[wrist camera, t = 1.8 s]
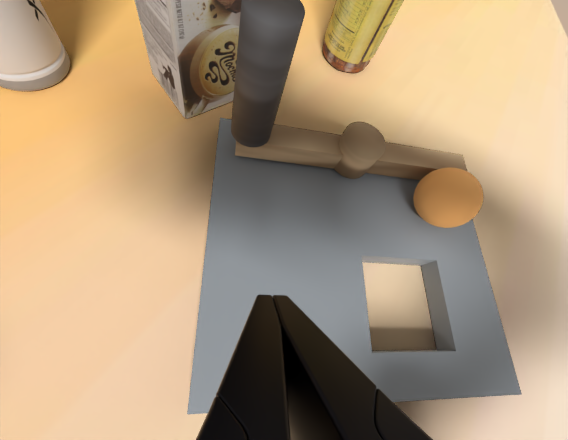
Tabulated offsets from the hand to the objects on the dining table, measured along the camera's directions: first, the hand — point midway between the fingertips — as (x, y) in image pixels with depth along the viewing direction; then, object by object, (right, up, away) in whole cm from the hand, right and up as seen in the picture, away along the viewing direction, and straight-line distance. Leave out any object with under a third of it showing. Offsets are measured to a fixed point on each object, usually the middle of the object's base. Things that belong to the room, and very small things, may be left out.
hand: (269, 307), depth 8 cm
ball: (+14, +4, +15) cm, 21 cm away
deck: (+6, 0, +16) cm, 18 cm away
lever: (+6, +8, +17) cm, 20 cm away
